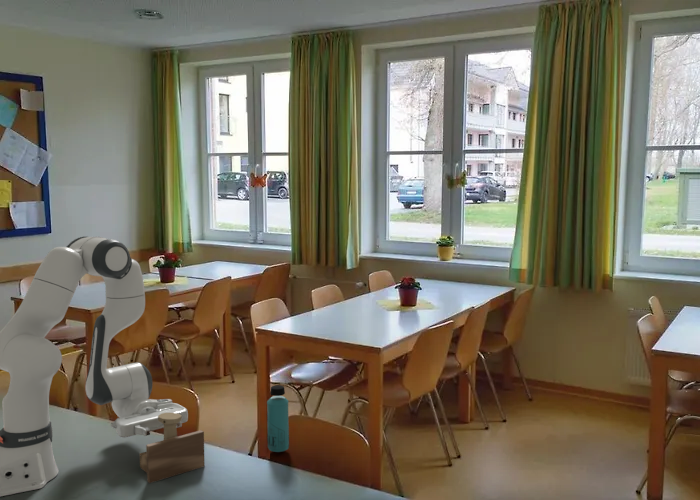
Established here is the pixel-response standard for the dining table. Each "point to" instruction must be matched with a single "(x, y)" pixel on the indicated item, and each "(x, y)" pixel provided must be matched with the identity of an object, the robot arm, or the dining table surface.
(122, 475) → the dining table surface
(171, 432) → the handle
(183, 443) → the wooden drawer
